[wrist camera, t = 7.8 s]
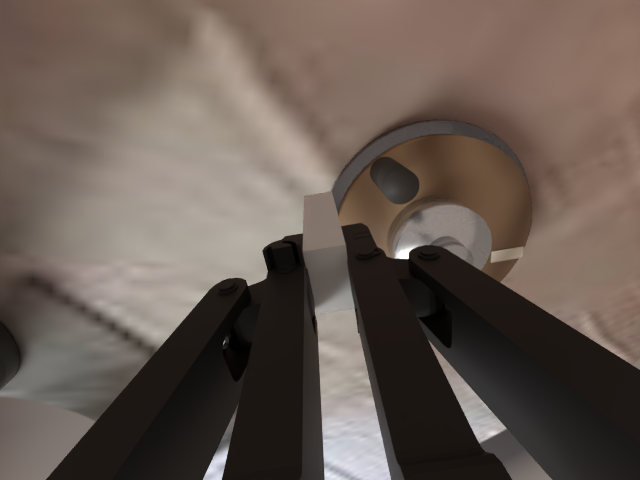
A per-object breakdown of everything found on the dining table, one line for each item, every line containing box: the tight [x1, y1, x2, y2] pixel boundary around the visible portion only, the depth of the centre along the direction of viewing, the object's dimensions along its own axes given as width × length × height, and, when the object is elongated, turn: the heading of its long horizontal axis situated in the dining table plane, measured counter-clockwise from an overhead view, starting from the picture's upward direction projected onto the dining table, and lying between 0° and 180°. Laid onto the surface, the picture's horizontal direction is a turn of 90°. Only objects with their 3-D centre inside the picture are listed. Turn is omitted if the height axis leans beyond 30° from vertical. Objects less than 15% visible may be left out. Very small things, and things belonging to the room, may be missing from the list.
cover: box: [387, 196, 492, 270], centre depth 26 cm, size 8×8×5 cm
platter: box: [337, 134, 532, 282], centre depth 27 cm, size 18×18×6 cm
